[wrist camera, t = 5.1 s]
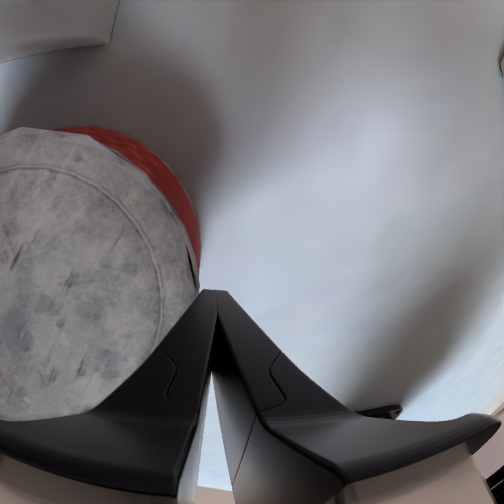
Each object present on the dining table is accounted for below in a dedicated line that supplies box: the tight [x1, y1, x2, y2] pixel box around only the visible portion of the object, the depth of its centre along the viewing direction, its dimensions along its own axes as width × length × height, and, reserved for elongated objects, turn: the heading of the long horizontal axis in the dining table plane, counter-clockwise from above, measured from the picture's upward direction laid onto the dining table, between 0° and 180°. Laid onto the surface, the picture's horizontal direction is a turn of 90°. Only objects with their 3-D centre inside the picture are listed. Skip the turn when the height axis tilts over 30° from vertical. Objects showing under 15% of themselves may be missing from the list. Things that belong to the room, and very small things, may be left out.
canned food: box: [0, 125, 201, 421], centre depth 8 cm, size 11×10×10 cm
